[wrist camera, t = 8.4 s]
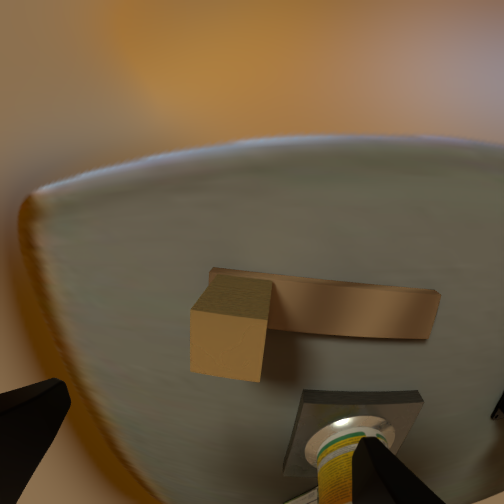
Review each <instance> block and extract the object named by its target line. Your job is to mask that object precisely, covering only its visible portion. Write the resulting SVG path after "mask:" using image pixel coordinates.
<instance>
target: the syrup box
mask: <svg viewBox="0 0 504 504" xmlns="http://www.w3.org/2000/svg"><path fill="white" fill-rule="evenodd" d="M283 504H319V491H318V487H316V488H314V489H312V490H310V491H308V492H306V493H304V494H302V495H300V496H298V497H296V498H294V499H292V500H289V501H287V502H285V503H283Z"/></svg>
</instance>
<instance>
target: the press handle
mask: <svg viewBox="0 0 504 504" xmlns="http://www.w3.org/2000/svg"><path fill="white" fill-rule="evenodd" d="M271 289H272V280H264V279H255V278H246V277H238V276H229V275H221V274H217V275H216V276H215V278H214V279H213V280H212V282H211V283H210V284H209V286H208V287H207V288H206V290H205V291H204V292H203V294H202V295H201V296H200V298H199V299H198V300H197V302H196V303H195V304H194V306H193V307H192V308H191V312H190V371H191V372H196V373H201V374H207V375H213V376H219V377H225V378H232V379H238V380H246V381H253V382H260V376H261V368H262V361H263V354H264V346H265V338H266V331H267V323H268V314H269V306H270V298H271Z"/></svg>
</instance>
